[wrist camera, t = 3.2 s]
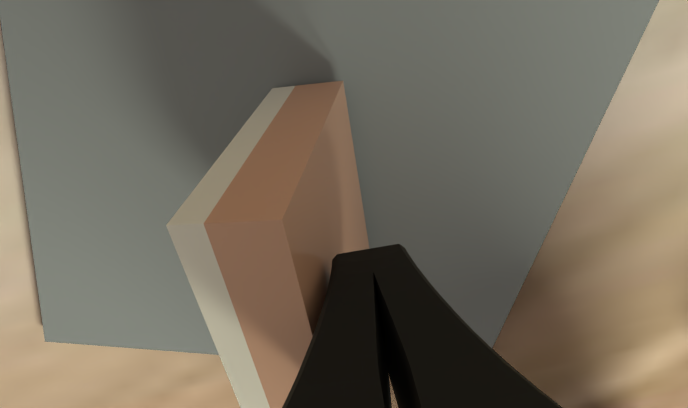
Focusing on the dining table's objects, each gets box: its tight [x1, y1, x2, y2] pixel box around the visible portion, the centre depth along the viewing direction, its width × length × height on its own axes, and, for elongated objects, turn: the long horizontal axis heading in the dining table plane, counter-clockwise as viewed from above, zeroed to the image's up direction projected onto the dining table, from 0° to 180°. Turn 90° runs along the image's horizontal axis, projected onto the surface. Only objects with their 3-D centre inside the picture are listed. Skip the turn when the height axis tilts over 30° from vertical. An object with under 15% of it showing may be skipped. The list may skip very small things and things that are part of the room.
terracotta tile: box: [166, 81, 369, 408], centre depth 11 cm, size 2×6×6 cm, turn 9°
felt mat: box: [0, 0, 659, 355], centre depth 14 cm, size 14×15×1 cm
